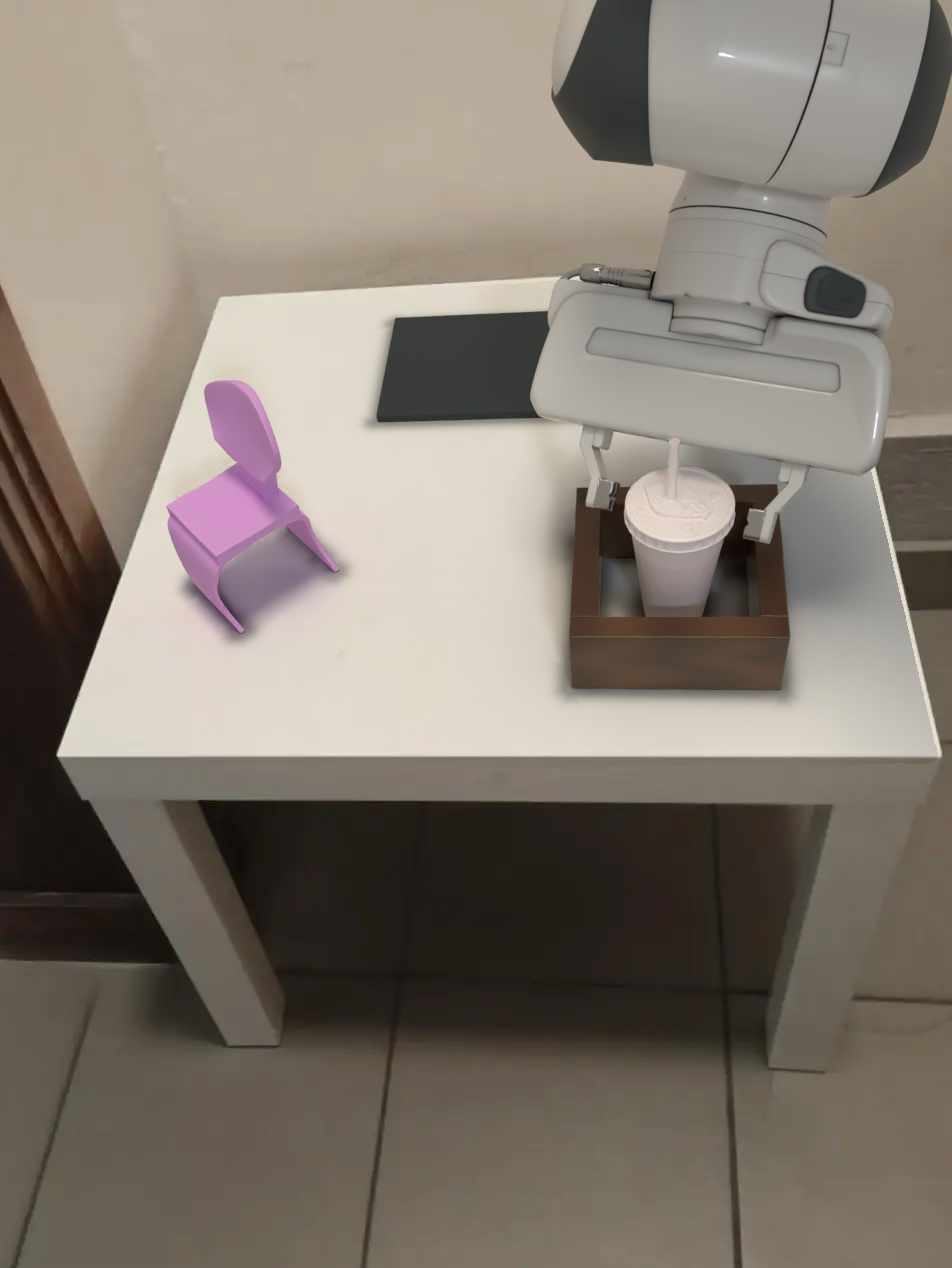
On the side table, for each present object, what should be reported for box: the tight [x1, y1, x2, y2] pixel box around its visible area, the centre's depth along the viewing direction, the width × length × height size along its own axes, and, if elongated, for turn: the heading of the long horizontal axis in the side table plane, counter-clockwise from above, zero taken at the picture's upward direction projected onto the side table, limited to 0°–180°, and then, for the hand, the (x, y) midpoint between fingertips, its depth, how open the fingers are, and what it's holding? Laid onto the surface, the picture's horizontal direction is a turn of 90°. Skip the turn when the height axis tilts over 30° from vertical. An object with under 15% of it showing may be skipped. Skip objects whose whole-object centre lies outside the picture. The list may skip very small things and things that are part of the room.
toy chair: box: [165, 379, 340, 634], centre depth 79 cm, size 8×9×15 cm
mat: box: [375, 310, 550, 423], centre depth 95 cm, size 18×12×1 cm, turn 84°
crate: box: [568, 483, 791, 691], centre depth 77 cm, size 13×13×5 cm
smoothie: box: [624, 438, 735, 617], centre depth 73 cm, size 6×6×14 cm
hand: (676, 524), depth 72 cm, fingers open, 8 cm apart
